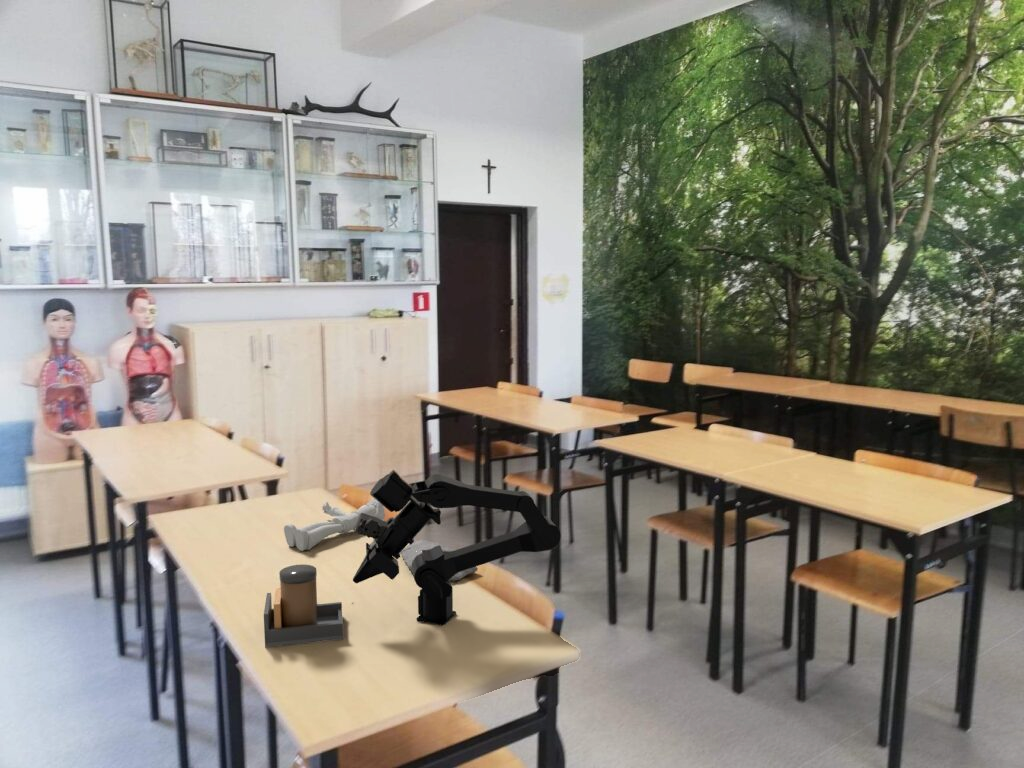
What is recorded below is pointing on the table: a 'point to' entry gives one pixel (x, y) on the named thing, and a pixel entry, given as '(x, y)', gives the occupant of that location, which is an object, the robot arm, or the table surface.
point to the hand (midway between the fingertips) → (354, 581)
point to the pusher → (277, 609)
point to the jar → (298, 596)
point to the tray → (323, 631)
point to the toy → (330, 525)
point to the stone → (419, 545)
